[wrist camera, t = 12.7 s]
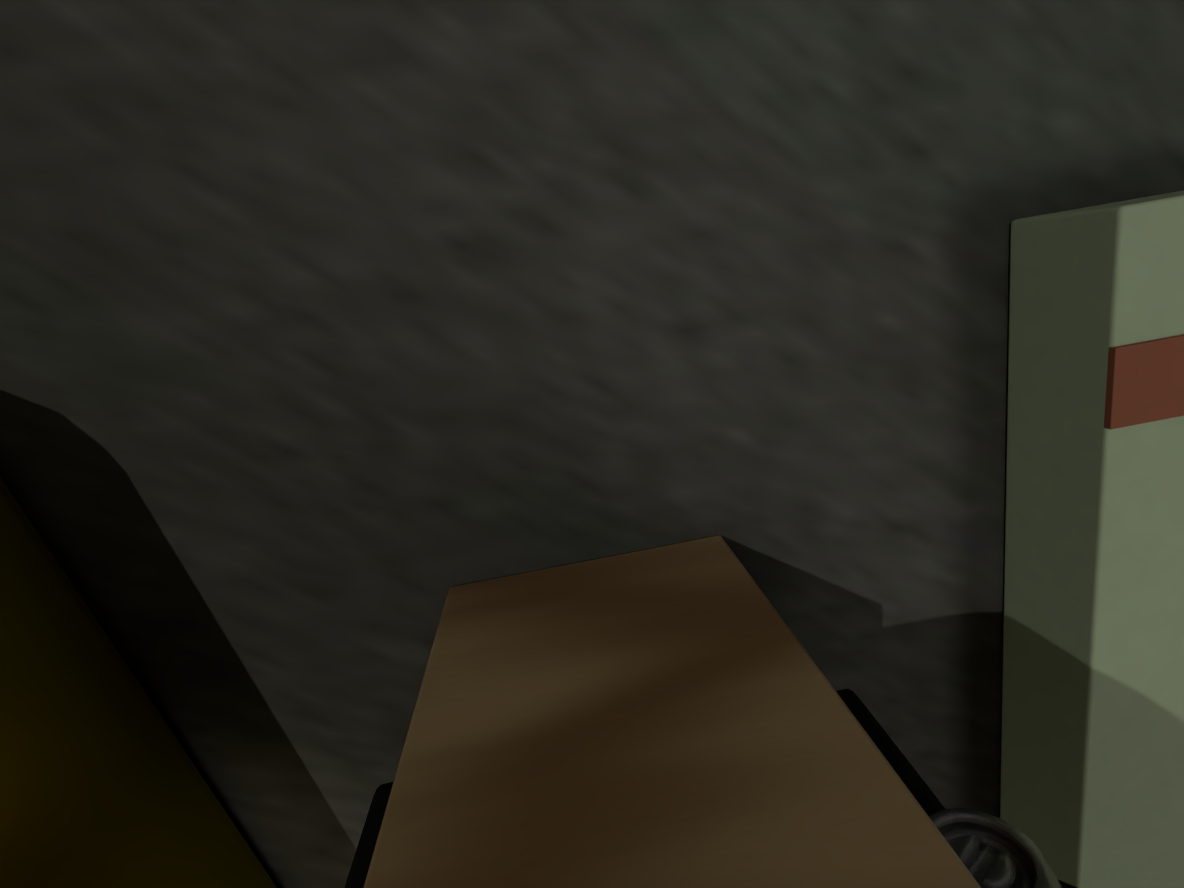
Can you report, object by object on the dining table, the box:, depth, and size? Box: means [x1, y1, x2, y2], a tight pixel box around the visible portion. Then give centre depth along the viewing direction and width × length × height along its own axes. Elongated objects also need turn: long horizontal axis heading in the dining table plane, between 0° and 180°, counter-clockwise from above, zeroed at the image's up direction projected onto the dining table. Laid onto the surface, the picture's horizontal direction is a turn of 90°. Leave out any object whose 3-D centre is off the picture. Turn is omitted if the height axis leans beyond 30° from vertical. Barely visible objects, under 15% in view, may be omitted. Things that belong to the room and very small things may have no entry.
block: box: [364, 536, 981, 888], centre depth 8 cm, size 5×6×7 cm
